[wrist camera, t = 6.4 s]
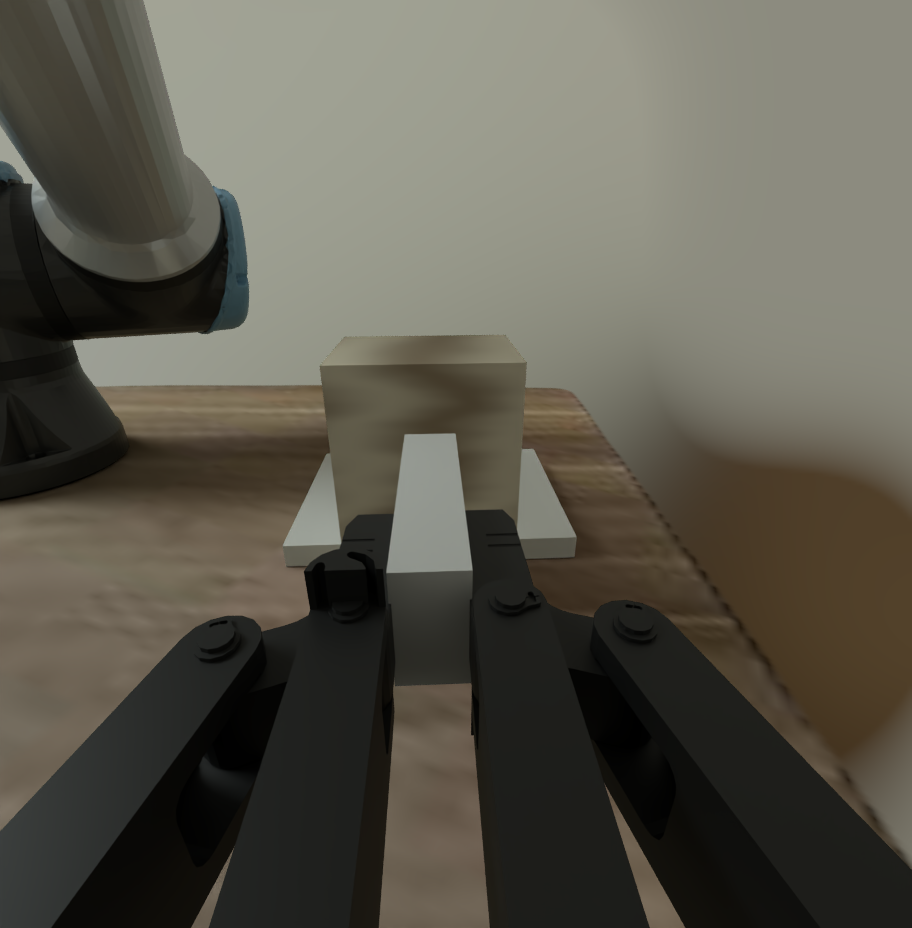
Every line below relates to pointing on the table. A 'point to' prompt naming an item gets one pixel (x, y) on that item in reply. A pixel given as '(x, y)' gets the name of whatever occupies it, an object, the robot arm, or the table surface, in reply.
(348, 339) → the birch block
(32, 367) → the robot arm
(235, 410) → the table surface
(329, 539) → the pad
